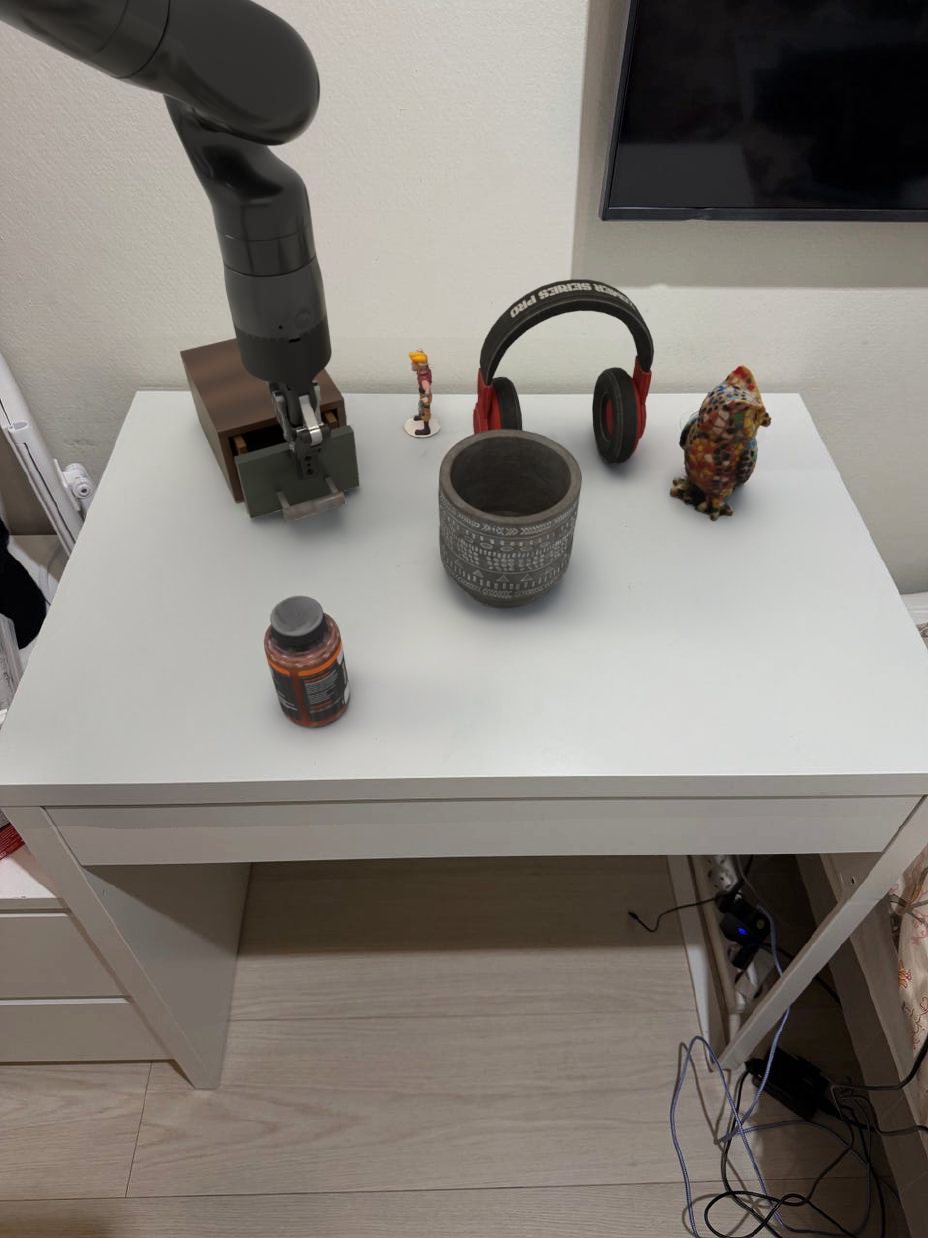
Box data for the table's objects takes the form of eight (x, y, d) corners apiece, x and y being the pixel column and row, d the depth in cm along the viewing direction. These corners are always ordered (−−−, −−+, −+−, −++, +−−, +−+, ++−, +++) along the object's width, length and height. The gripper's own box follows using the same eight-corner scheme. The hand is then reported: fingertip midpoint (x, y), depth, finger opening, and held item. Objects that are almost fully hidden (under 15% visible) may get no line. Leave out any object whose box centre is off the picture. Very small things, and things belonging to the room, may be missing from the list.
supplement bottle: (365, 691, 72) (353, 606, 64) (321, 741, 69) (303, 659, 60) (310, 660, 74) (292, 574, 66) (265, 708, 71) (239, 624, 62)
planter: (550, 638, 76) (565, 537, 66) (422, 606, 79) (418, 505, 69) (578, 545, 84) (595, 443, 74) (461, 519, 86) (462, 416, 76)
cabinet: (352, 468, 91) (344, 398, 84) (235, 502, 87) (217, 432, 80) (307, 392, 99) (296, 323, 92) (199, 421, 95) (179, 351, 89)
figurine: (769, 511, 87) (818, 389, 76) (693, 532, 85) (731, 409, 74) (725, 460, 92) (765, 338, 81) (652, 478, 90) (682, 355, 79)
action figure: (442, 466, 91) (441, 393, 84) (415, 467, 91) (412, 394, 84) (434, 398, 99) (432, 326, 91) (409, 400, 98) (406, 327, 91)
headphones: (482, 496, 88) (490, 323, 73) (467, 436, 94) (471, 265, 79) (645, 481, 90) (685, 309, 75) (619, 422, 96) (652, 252, 81)
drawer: (373, 510, 85) (368, 455, 80) (262, 544, 82) (249, 489, 77) (316, 412, 95) (308, 357, 90) (214, 439, 92) (199, 384, 86)
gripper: (210, 278, 70) (249, 444, 84) (256, 363, 63) (291, 530, 76) (297, 260, 72) (321, 424, 86) (352, 339, 65) (369, 506, 78)
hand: (307, 474), depth 81 cm, fingers closed
